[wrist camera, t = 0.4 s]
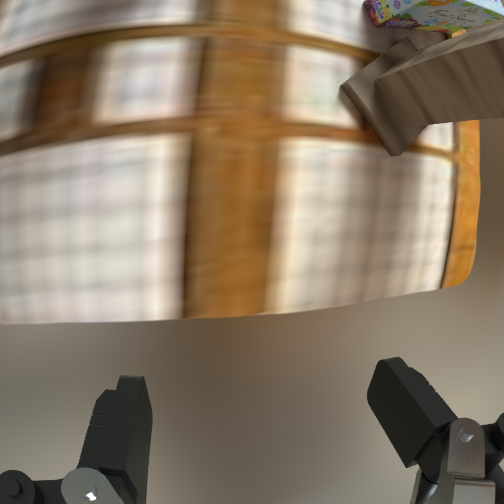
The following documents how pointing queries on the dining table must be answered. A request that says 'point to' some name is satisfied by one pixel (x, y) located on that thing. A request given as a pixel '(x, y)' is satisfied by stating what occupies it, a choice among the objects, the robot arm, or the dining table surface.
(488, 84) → the stand
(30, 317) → the dining table surface
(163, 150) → the dining table surface
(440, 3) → the snack box
